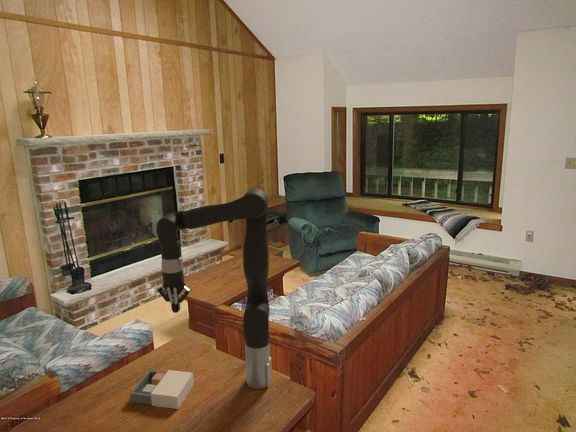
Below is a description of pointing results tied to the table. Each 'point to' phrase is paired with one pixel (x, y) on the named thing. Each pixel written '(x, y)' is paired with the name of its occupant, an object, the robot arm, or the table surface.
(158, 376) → the orange cube
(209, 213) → the robot arm
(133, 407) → the table surface
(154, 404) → the cream rectangular block
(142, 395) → the box
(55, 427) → the table surface
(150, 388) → the sage green cube
